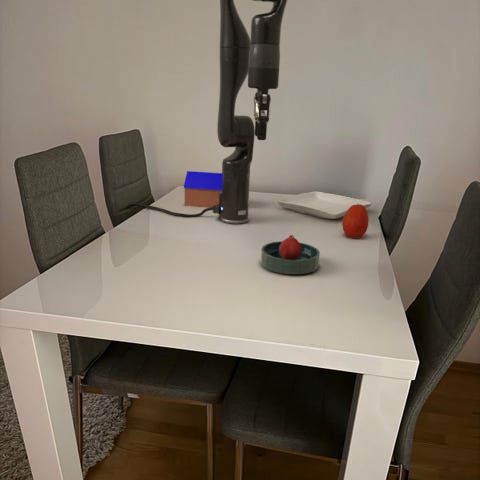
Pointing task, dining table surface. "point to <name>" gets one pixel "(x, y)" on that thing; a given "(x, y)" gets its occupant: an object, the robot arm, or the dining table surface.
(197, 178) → the house
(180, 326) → the dining table surface
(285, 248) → the red lemon
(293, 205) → the square plate
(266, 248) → the bowl
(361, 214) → the red egg
